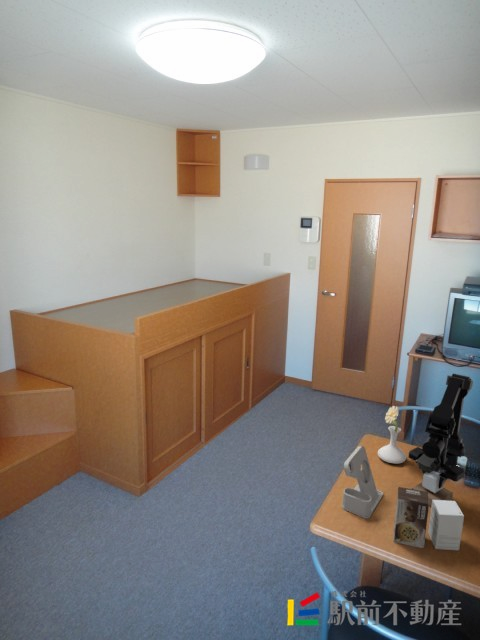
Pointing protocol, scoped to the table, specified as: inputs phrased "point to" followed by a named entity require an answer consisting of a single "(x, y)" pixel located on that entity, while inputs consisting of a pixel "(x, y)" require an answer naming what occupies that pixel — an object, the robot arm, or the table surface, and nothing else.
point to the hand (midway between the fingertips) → (432, 484)
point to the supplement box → (445, 525)
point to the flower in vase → (392, 440)
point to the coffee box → (411, 517)
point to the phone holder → (360, 485)
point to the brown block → (435, 494)
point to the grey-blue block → (431, 481)
